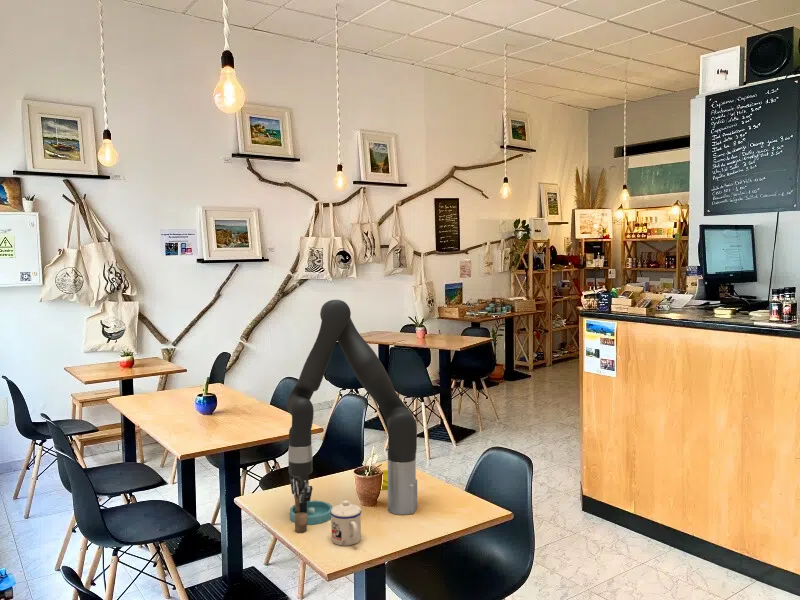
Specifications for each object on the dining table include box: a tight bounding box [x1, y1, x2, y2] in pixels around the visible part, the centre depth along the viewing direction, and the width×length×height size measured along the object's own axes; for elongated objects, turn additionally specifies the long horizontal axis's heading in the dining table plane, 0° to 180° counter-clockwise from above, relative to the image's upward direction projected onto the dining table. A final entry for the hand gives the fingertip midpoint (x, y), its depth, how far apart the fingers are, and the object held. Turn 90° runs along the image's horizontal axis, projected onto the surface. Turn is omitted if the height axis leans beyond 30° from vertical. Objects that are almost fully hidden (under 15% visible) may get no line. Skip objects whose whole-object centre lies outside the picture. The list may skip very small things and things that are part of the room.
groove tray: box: [289, 500, 334, 526], centre depth 207 cm, size 14×14×2 cm
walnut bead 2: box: [294, 512, 308, 534], centre depth 196 cm, size 4×4×5 cm
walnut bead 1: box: [294, 495, 300, 513], centre depth 205 cm, size 4×4×5 cm
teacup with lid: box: [330, 499, 363, 547], centre depth 188 cm, size 12×9×12 cm
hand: (301, 511), depth 205 cm, fingers closed on walnut bead 1, 3 cm apart
